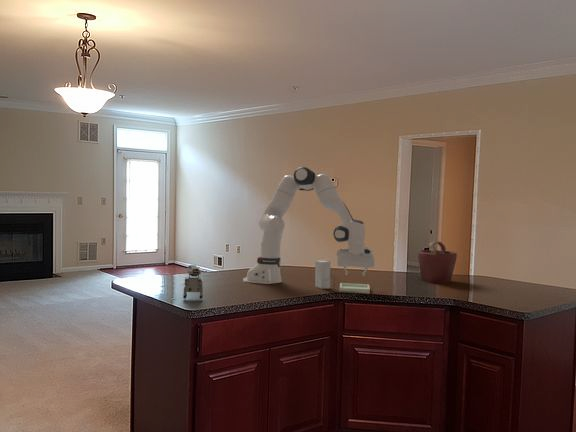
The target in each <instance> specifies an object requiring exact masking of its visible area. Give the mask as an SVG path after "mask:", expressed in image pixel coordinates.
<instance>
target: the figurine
mask: <svg viewBox="0 0 576 432" xmlns="http://www.w3.org/2000/svg"><path fill="white" fill-rule="evenodd" d="M186 271H187V273H188V277H185V278H184V287H183V295H182V298H183V299H187V295H188V294H187V293H199V299H203V297H204V294H203V288H204V287H203V286H204V285H203V280H202V278H200V275H201V273H202V271H201V269H200V266H197V265H194V264H190V265H188V267H187V268H186Z"/></svg>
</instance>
